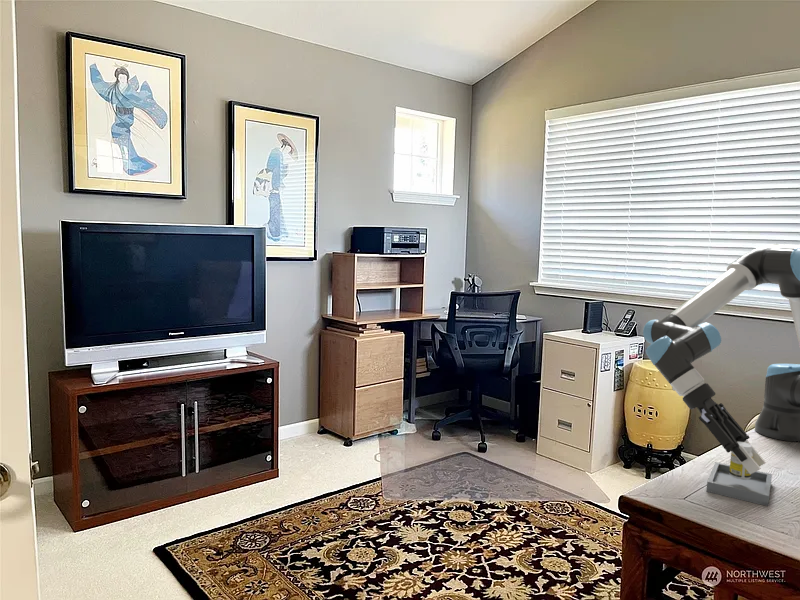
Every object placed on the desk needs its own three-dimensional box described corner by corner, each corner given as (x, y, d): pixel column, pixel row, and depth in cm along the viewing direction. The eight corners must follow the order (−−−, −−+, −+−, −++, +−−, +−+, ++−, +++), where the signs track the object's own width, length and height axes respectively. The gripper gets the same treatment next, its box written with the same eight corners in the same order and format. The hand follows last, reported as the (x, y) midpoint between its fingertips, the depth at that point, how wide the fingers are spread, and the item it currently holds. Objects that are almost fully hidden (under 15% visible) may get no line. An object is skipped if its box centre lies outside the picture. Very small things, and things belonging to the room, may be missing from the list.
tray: (714, 470, 160) (715, 462, 160) (770, 483, 153) (772, 474, 153) (706, 491, 147) (707, 481, 147) (767, 506, 140) (768, 495, 140)
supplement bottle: (747, 474, 151) (751, 442, 150) (753, 481, 147) (756, 448, 146) (726, 471, 153) (730, 439, 152) (731, 478, 148) (735, 446, 147)
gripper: (692, 391, 165) (754, 466, 155) (670, 403, 152) (735, 485, 142) (715, 376, 160) (779, 452, 151) (694, 387, 147) (763, 471, 138)
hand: (758, 468), depth 147 cm, fingers closed on supplement bottle, 5 cm apart
